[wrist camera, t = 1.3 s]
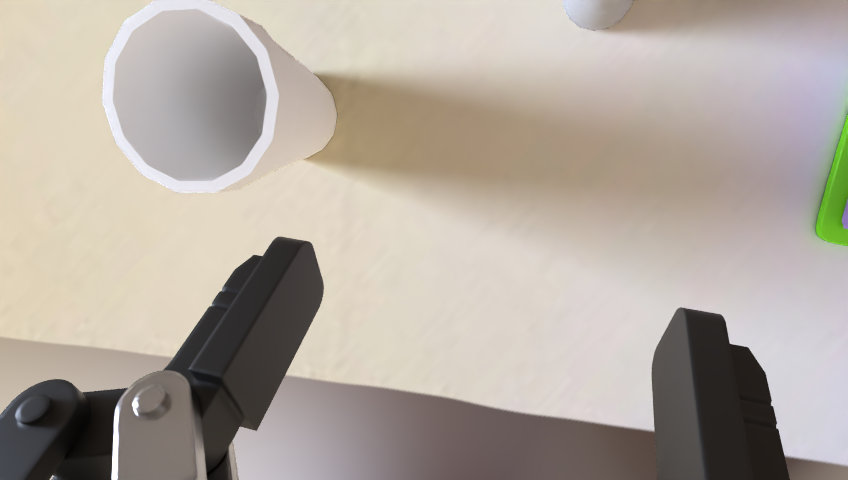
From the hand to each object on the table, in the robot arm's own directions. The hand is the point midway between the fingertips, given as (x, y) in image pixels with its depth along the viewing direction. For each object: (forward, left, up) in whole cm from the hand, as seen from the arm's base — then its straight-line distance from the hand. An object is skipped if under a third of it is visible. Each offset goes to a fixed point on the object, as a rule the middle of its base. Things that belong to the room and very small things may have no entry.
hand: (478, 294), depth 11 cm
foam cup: (-12, -11, -25) cm, 30 cm away
